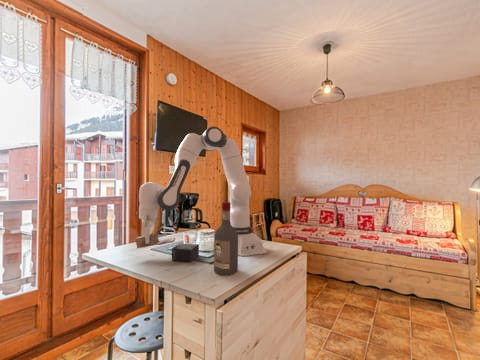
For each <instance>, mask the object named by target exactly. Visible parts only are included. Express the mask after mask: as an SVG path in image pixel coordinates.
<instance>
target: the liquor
mask: <svg viewBox="0 0 480 360" xmlns="http://www.w3.org/2000/svg"><path fill="white" fill-rule="evenodd" d="M221 206H222V207H221V209H222V217H221V219H222V220H221V225H219V227H218V228H217V229H216V230H215V231H214V235H213V238H214V239H213V242H214V245H213V248H214V249H213V256H214V257H213V271H214V274H218V275H220V276H223V277H224V276H230V275H234V274H235V273H238V270H239V265H238V263H239V257H238V256H239V255H238V234H237V231H236V230H235V229H234V228H233V227H232V225H231V223H230V201H229V202H225V201H224V202H221Z"/></svg>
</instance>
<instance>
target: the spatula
mask: <svg viewBox="0 0 480 360" xmlns="http://www.w3.org/2000/svg"><path fill="white" fill-rule="evenodd" d="M175 241H176V237H170V238H165V239H159V233H158V232H157V233H153V234H152V233H151V235H150V242H149V243H147V244H146V243H145V237H142V235H141V236H136V238H135V244H136V249H141V248H146V247H148V248H149V247H152V246H162V245H165V244H166V245H167V244H172V243H174V242H175Z"/></svg>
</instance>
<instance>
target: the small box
mask: <svg viewBox="0 0 480 360" xmlns="http://www.w3.org/2000/svg"><path fill="white" fill-rule="evenodd" d="M199 248H200V244H198V243H196V244H195V243H178V244H177V245H175V246H173V247H171V261H173V262H175V261H176V262H188V263H191V262H193V261H194V260H196V259H197V258H198V257H199V256H200V255H199V254H200V249H199ZM197 256H198V257H197Z"/></svg>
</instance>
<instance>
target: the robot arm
mask: <svg viewBox="0 0 480 360" xmlns="http://www.w3.org/2000/svg"><path fill="white" fill-rule="evenodd" d="M216 150H217V152H218V153H219V155H220V158H221V163H222V166H223V170H224V174H225V177H226V181H227V184H228V188H229V202H230V223H231V225H232V227H233V228H234V229H235V230H236V231H237V234H238V256H241V257H248V256H257V255H261V254H267V253H268V248H266V247H265V246H264V243H263V240H262V239H261V238H260V236H258V235H256V234H255V233H254V232H255V231H256V228H255V227H252V226H251V224H250V223H251V222H250V220H251V219H250V215H251V214H250V213H251V212H250V201H249V199H250V197H251V195H252V190H251V186H250V182H249V179H248V175H247V172H246V170H245V166H244V162H243V159H242V156H241V151H240V148H239V145H238V143H237V142H236V140H235V139H233V138H232V137H231V138H230V137H229V138H228V136H227V135H226V134H225V133H224V131H223V130H222V129H221V128H220V127H217V126H209V127H208V128H206V129H205V131H204V132H203V133H202V134H201V135H199V134H197V133H194V132H190V133H188V134H187V135H186V136H185V137H184V139H183V140H182V141H181V143H180V145H179V146H178V149H177V150H176V153H175V157H174V160H173V161H174V170H173V174H172V176H171V178H170V180H169V183H168V184H167V186H166V187H165V186H162V185H160V184H158V183H157V182H156V181H149V182H144V183H143V184H141V185H140V187H139V191H138V202H139V206H138V219H139V220H141V236H142V237H145V243H146V244H147V243H149V242H150V235H152V232H153V230H154V229H155V223H156V222H155V221H156V219H157V218H158V213H159V211H158V210H159V209H158V207H160V208H161V209H162V210H164V211H172V210H174V209H176V208H177V207H178V206H179V203H180V199H181V198H180V197H181V193H180V192H181V190H182V187H183V185H184V183H185V181H186V178H187V177H188V174H189V172H190V171H191V170H192V168H193V167H194V165H195V164H196V162H197V159H198V157H199V156H200V153H201V152H202V151H206V152H213V151H216Z"/></svg>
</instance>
